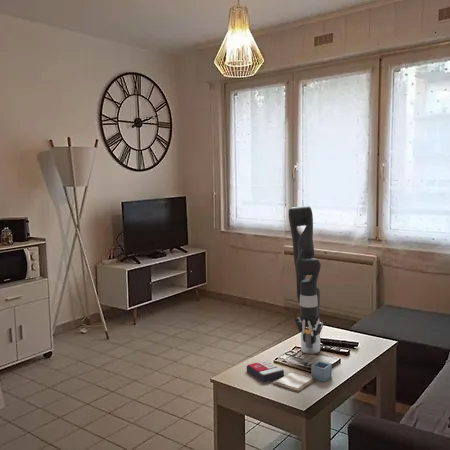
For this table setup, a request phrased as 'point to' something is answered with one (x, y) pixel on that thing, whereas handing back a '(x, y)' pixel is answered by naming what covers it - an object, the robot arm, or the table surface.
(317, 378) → the pen cup
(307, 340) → the marker
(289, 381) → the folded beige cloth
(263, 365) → the dark grey box
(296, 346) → the table surface
